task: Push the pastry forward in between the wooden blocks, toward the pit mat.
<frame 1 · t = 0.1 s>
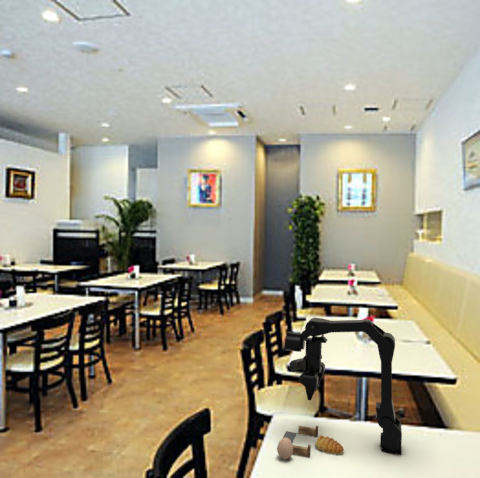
hand: (311, 395, 167), 15 cm above the table, tool pointing down, fingers open, 9 cm apart
pastry: (328, 450, 158), on the table
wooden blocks: (304, 444, 161), on the table
pit mat: (287, 441, 163), on the table
egg: (284, 459, 151), on the table
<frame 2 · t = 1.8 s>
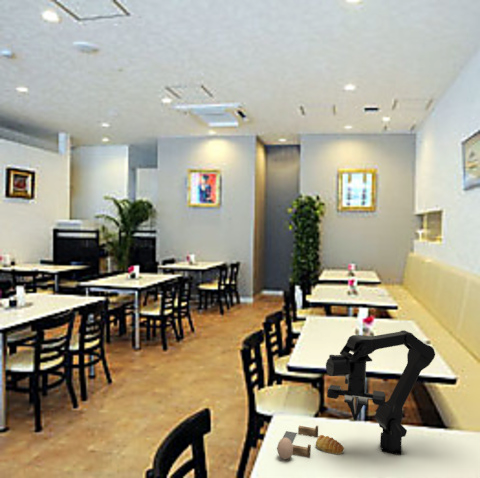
hand: (355, 419, 155), 12 cm above the table, tool pointing down, fingers closed
nothing on the table moved.
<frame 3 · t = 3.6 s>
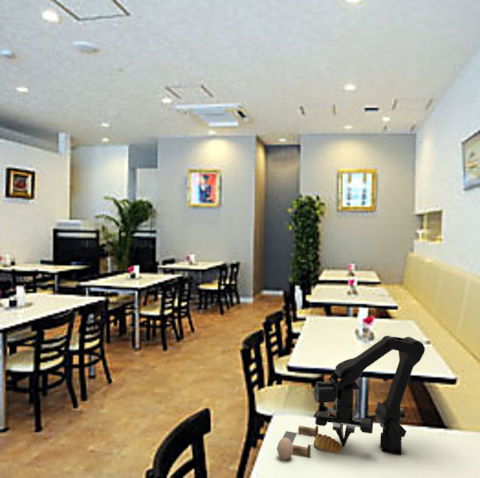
hand: (343, 446, 156), 2 cm above the table, tool pointing down, fingers closed
pastry: (326, 448, 159), on the table, touching gripper
everything else where it was.
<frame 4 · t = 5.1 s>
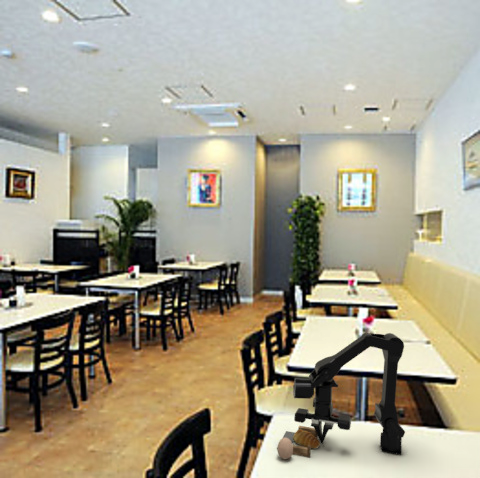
hand: (321, 443, 159), 2 cm above the table, tool pointing down, fingers closed
pastry: (306, 443, 162), on the table, touching gripper, pit mat
everything else where it was.
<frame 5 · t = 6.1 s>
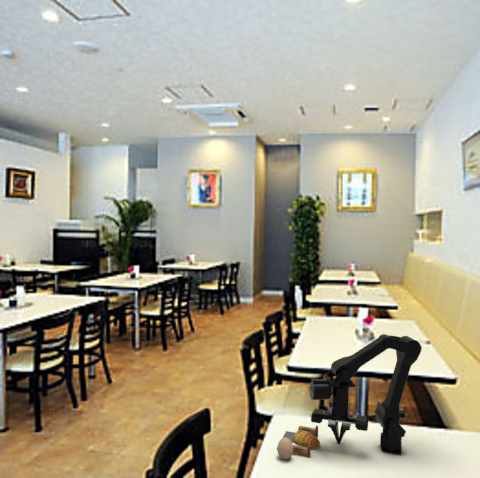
hand: (338, 443, 157), 2 cm above the table, tool pointing down, fingers closed
pastry: (306, 444, 162), on the table
everything else where it was.
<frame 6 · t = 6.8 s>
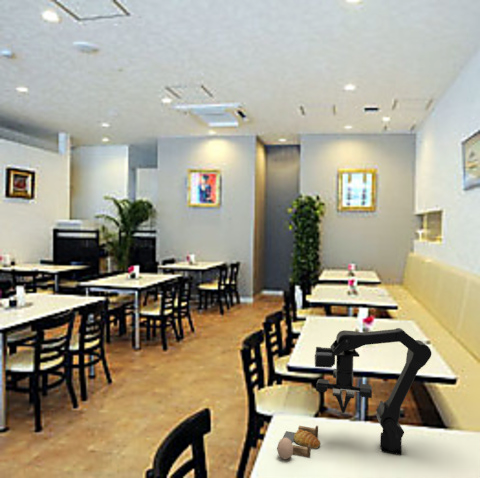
hand: (343, 412, 160), 12 cm above the table, tool pointing down, fingers closed
nothing on the table moved.
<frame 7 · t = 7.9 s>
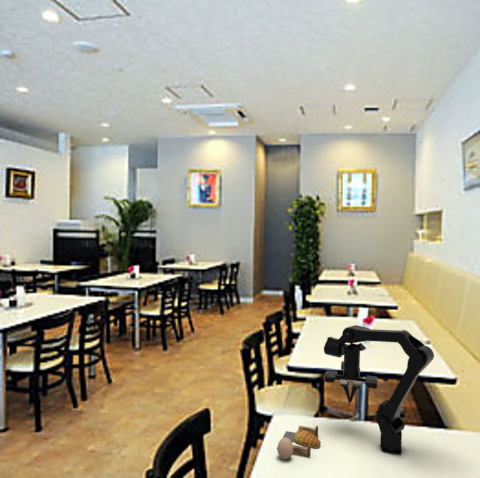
hand: (350, 402, 169), 12 cm above the table, tool pointing down, fingers closed
nothing on the table moved.
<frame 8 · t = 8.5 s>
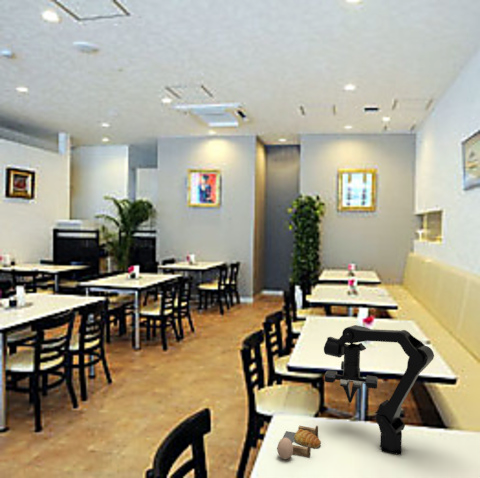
hand: (350, 402, 169), 12 cm above the table, tool pointing down, fingers closed
nothing on the table moved.
at the end: pastry inside the target area (2.1 cm from its centre), on the table; pastry touching table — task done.
